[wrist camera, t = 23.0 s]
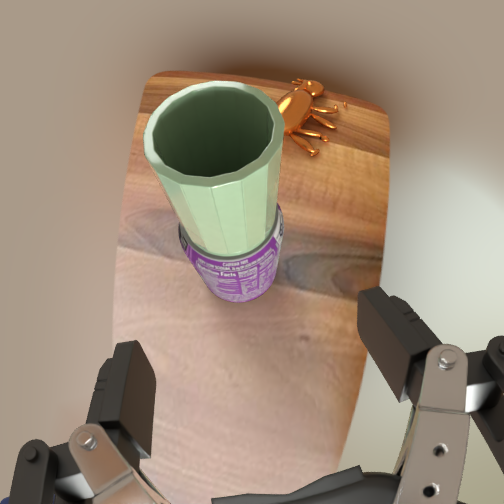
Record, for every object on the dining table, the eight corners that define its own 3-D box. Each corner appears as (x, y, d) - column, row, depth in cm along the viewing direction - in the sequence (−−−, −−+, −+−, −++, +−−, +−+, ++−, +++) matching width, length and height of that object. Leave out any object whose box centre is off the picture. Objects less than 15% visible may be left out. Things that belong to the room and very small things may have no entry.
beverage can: (244, 219, 33) (237, 146, 21) (291, 271, 31) (310, 218, 19) (188, 262, 31) (150, 207, 20) (233, 319, 29) (217, 293, 18)
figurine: (344, 99, 39) (268, 72, 38) (355, 83, 36) (273, 54, 35) (334, 170, 36) (244, 140, 35) (346, 156, 33) (248, 123, 32)
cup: (268, 263, 19) (275, 195, 11) (173, 249, 19) (124, 180, 11) (280, 178, 20) (289, 86, 13) (194, 169, 21) (167, 79, 13)
